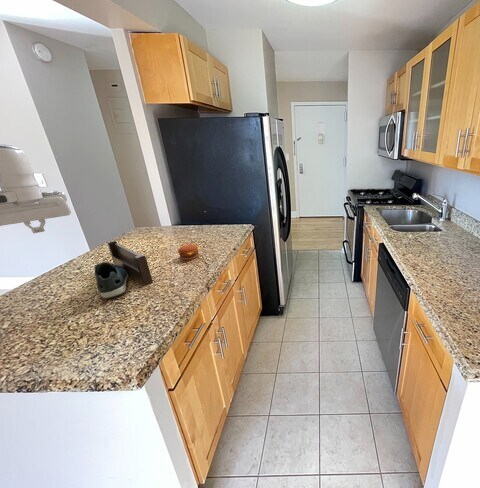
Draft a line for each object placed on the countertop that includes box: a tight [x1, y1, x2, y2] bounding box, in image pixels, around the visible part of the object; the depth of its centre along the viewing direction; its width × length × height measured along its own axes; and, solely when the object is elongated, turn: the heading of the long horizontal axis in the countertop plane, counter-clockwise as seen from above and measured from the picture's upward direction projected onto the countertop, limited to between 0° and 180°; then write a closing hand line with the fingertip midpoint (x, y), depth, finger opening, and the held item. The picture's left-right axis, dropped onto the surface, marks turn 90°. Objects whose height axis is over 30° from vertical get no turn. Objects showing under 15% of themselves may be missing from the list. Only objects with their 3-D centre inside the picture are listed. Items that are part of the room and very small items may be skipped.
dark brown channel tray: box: [106, 239, 154, 286], centre depth 118 cm, size 3×32×13 cm, turn 56°
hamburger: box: [175, 243, 202, 261], centre depth 136 cm, size 9×10×7 cm
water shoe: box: [94, 261, 129, 300], centre depth 110 cm, size 10×29×12 cm, turn 42°
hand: (38, 232), depth 95 cm, fingers closed
